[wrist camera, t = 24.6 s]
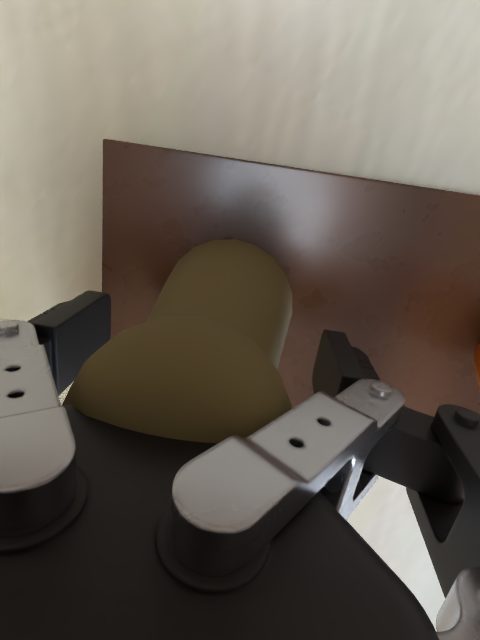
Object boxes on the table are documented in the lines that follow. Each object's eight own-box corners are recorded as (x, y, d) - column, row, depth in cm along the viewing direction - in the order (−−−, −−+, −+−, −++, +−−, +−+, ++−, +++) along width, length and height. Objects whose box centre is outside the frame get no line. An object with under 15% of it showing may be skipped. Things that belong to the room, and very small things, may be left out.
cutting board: (115, 376, 21) (100, 395, 20) (121, 143, 17) (102, 138, 15) (529, 447, 21) (554, 473, 19) (648, 223, 16) (697, 228, 14)
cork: (222, 209, 16) (124, 259, 5) (320, 302, 17) (394, 493, 6) (139, 305, 18) (-50, 477, 7) (232, 384, 19) (181, 631, 8)
